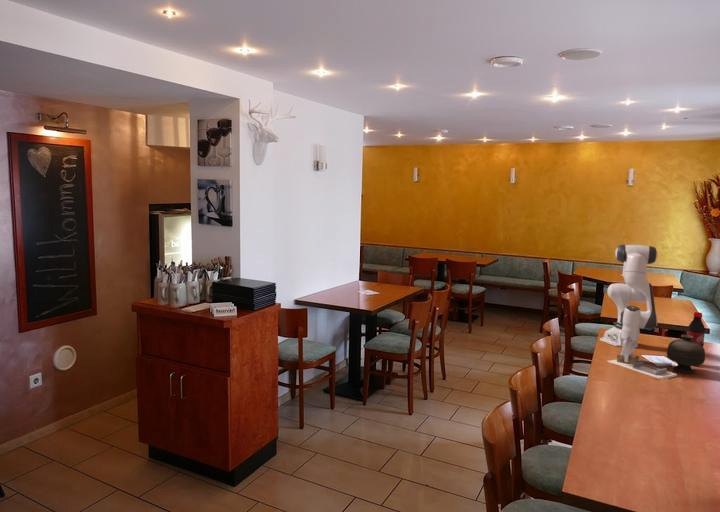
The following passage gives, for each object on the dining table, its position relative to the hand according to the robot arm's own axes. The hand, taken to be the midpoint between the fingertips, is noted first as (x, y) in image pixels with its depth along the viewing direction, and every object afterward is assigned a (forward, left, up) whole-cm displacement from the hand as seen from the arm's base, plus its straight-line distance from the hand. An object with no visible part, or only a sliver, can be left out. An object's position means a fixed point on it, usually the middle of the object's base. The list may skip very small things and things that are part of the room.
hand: (627, 359), depth 294 cm
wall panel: (+8, -1, -3) cm, 9 cm away
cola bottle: (+14, +37, -3) cm, 40 cm away
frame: (0, 0, -2) cm, 2 cm away
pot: (+19, +20, -3) cm, 28 cm away
